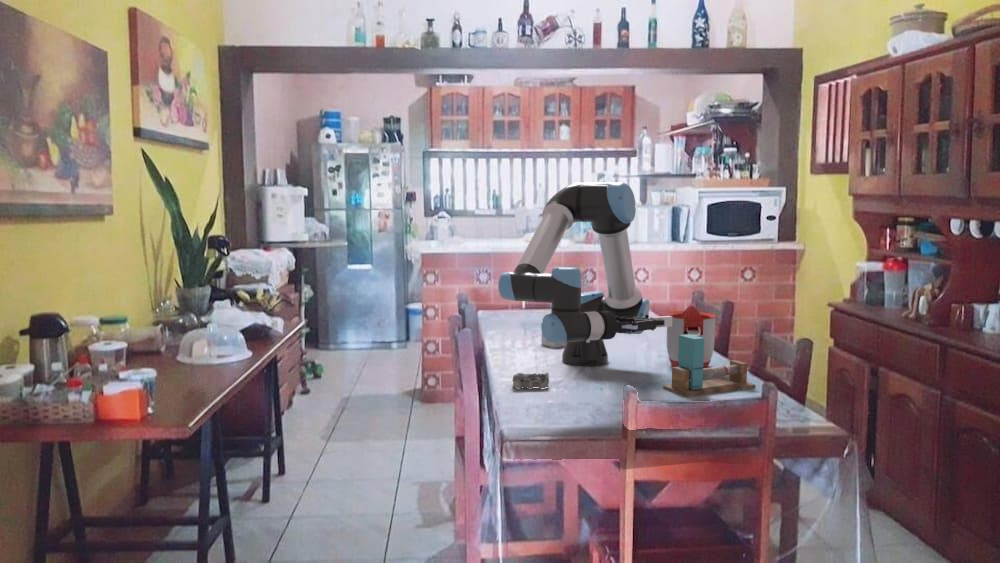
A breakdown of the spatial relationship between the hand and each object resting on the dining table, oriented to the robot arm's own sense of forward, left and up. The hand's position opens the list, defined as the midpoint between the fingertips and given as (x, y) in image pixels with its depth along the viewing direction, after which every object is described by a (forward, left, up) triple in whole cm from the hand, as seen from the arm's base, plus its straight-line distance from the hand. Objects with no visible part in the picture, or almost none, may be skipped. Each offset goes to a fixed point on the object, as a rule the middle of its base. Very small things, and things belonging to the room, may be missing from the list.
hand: (670, 321), depth 209 cm
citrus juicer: (+22, +28, -21) cm, 41 cm away
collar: (+7, +1, -19) cm, 21 cm away
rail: (+14, +2, -20) cm, 25 cm away
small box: (-8, +74, -21) cm, 77 cm away
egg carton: (-35, +17, -21) cm, 44 cm away
